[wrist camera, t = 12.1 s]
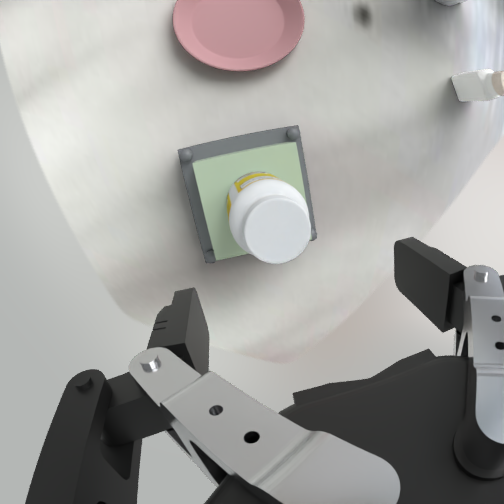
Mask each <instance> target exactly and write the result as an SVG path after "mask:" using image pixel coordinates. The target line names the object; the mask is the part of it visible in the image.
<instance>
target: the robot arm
mask: <svg viewBox="0 0 504 504" xmlns="http://www.w3.org/2000/svg"><path fill="white" fill-rule="evenodd" d="M435 1H437V2H438V3H441V4H443V5H447V6H452V5H455V4H457V3H460V2H464V1H467V0H435ZM394 277H395V283H396V286H397V288H398V289H399V291H400V292H401V293H402V294H403V295H405V297H407V298H408V299H409V300H410V301H411V302H412V303H413V304H414V305H415V306H416V307H417V308H418V309H419V310H420V311H421V312H422V313H423V314H424V315H425V316H426V317H427V318H428V319H429V320H430V321H431V322H432V323H433V324H435V326H437V327H438V329H440V330H441V331H442V332H446V331H448V330H450V329H452V328H456V330H455V336H454V354H453V356H438V357H436V356H435V355H434V354H433V353H432V352H431V351H430V349H427V350H425V351H422V352H419V353H417V354H414V355H412V356H409V357H407V358H404V359H401V360H399V361H398V362H396V363H394V364H393V365H391V366H390V367H388V368H387V369H385V370H383V371H382V372H380V373H378V374H377V375H375V376H373V377H371V378H369V379H363V380H355V381H346V382H337V383H329V384H325V385H322V386H318V387H314V388H311V389H307V390H303V391H299V392H295V393H293V398H294V403H295V404H293V405H291V406H289V407H287V408H286V409H284V410H282V411H280V412H279V413H276V412H275V411H273V410H271V409H270V408H268V407H266V406H265V405H263V404H261V403H260V402H258V401H257V400H255V399H254V398H252V397H250V396H249V395H247V394H246V393H244V392H243V391H241V390H240V389H238V388H237V387H235V386H234V385H232V384H231V383H229V382H228V381H226V380H225V379H223V378H222V377H220V376H219V375H217V374H216V373H214V372H212V371H208V367H209V366H208V365H209V331H208V327H207V323H206V320H205V316H204V313H203V310H202V307H201V304H200V301H199V298H198V294H197V292H196V289H195V288H189V289H185V290H180V291H176V292H175V294H174V298H173V301H172V305H170V306H165V307H164V308H163V309H162V310H161V311H160V312H159V313H158V314H157V317H156V320H155V324H154V327H153V331H152V333H151V337H150V340H149V343H148V347H147V350H145V351H142V352H141V353H139V354H138V355H136V356H135V357H134V358H133V359H132V360H131V362H130V364H129V372H127V373H125V374H123V375H120V376H117V377H114V378H112V379H108V380H106V378H105V376H104V374H103V373H102V372H101V371H99V370H95V369H91V370H86V371H83V372H81V373H79V374H77V375H75V376H74V377H73V378H72V379H71V380H70V381H69V382H68V384H67V386H66V388H65V390H64V393H63V395H62V398H61V400H60V403H59V405H58V407H57V410H56V413H55V415H54V417H53V420H52V423H51V425H50V428H49V431H48V433H47V436H46V439H45V442H44V445H43V447H42V451H41V453H40V456H39V459H38V463H37V465H36V469H35V472H34V475H33V478H32V482H31V485H30V488H29V492H28V495H27V499H26V503H25V504H137V492H138V478H139V466H140V456H141V445H142V438H145V437H148V436H151V435H154V434H157V433H159V432H162V431H165V432H166V433H167V434H168V435H169V437H170V438H171V439H172V440H173V441H174V442H175V443H176V444H177V445H178V446H179V447H180V449H181V450H182V451H183V452H184V453H185V454H186V455H187V456H188V457H189V458H190V459H191V460H192V461H193V462H194V463H195V464H196V465H197V466H198V467H199V468H200V469H201V471H202V472H203V473H204V474H205V475H206V476H207V477H208V479H209V480H210V481H211V482H212V483H213V484H214V485H215V486H216V487H217V489H216V490H215V491H214V492H213V493H212V495H211V496H210V498H208V500H207V501H206V502H205V503H204V504H504V275H501V276H499V275H498V272H497V271H496V270H494V269H493V268H491V267H488V266H483V265H473V266H469V267H466V266H464V265H462V264H461V263H459V262H458V261H456V260H454V259H453V258H450V257H449V256H448V255H446V254H444V253H443V252H441V251H440V250H438V249H436V248H433V247H429V246H427V245H426V244H424V243H422V242H421V241H419V240H417V239H415V238H414V237H410V238H406V239H402V240H398V241H396V242H395V244H394Z"/></svg>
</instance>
